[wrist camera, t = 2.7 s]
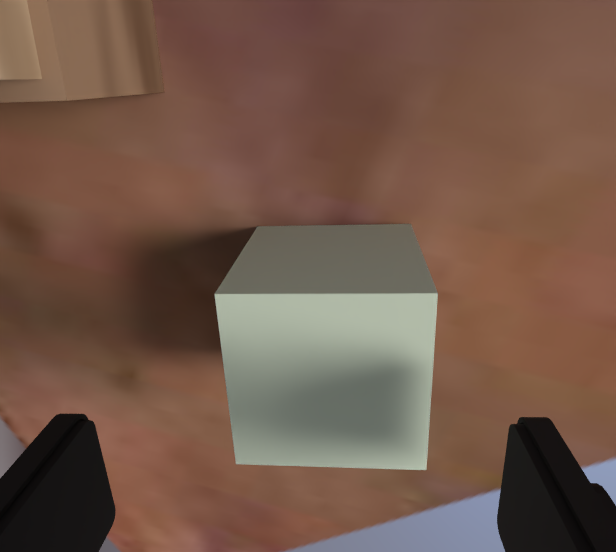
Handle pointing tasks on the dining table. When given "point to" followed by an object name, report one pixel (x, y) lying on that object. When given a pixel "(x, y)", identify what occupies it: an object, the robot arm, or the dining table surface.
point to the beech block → (17, 42)
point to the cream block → (90, 51)
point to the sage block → (329, 347)
